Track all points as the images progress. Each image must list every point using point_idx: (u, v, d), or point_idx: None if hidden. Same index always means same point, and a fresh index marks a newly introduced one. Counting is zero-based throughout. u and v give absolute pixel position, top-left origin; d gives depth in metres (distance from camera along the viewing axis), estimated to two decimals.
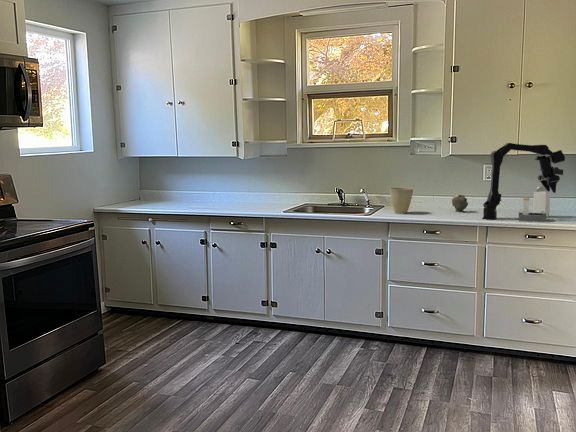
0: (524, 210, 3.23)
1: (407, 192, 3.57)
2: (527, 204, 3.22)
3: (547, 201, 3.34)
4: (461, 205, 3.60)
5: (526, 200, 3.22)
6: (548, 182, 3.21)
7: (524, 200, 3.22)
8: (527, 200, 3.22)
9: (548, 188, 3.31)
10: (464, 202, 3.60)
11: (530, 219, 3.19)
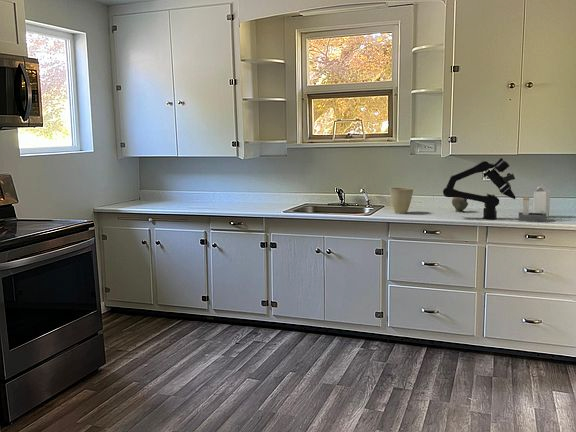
0: (524, 210, 3.23)
1: (407, 192, 3.57)
2: (527, 204, 3.22)
3: (547, 201, 3.34)
4: (461, 205, 3.60)
5: (526, 200, 3.22)
6: (502, 193, 3.22)
7: (524, 200, 3.22)
8: (527, 200, 3.22)
9: None
10: (464, 202, 3.60)
11: (530, 219, 3.19)
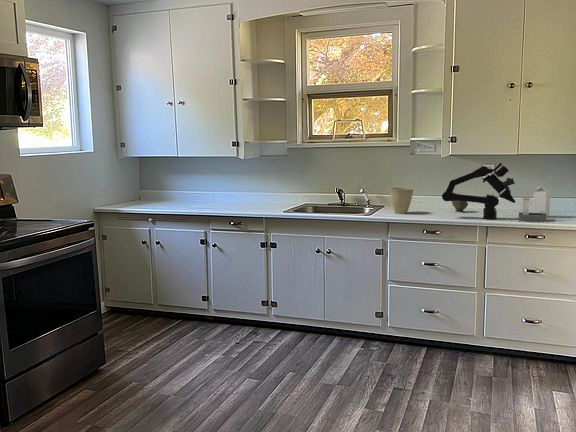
0: (524, 210, 3.23)
1: (407, 192, 3.57)
2: (527, 204, 3.22)
3: (547, 201, 3.34)
4: (461, 205, 3.60)
5: (526, 200, 3.22)
6: (502, 197, 3.27)
7: (524, 200, 3.22)
8: (527, 200, 3.22)
9: None
10: (464, 202, 3.60)
11: (530, 219, 3.19)
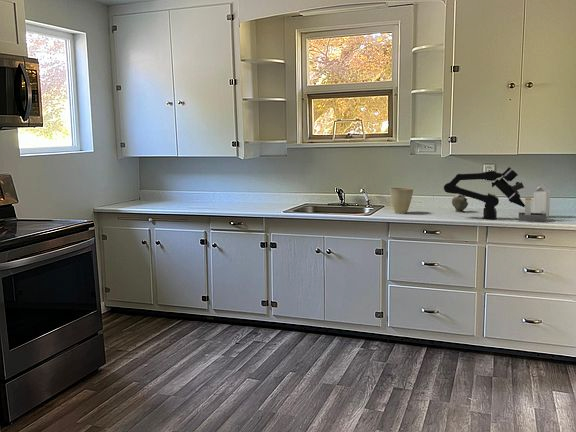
0: (526, 210, 3.23)
1: (407, 192, 3.57)
2: (529, 204, 3.22)
3: (547, 201, 3.34)
4: (461, 205, 3.60)
5: (528, 200, 3.22)
6: None
7: (526, 200, 3.22)
8: (529, 200, 3.21)
9: None
10: (464, 202, 3.60)
11: (530, 219, 3.19)
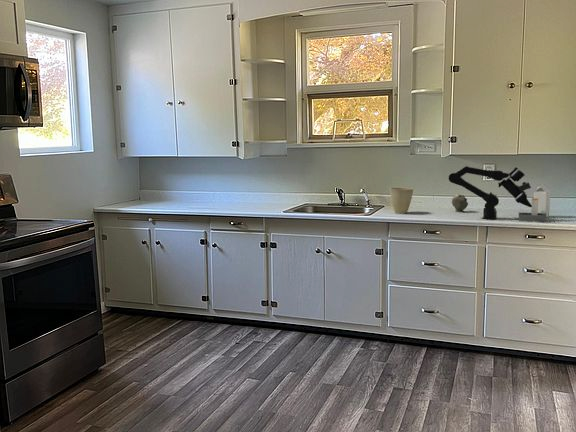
0: (533, 210, 3.21)
1: (407, 192, 3.57)
2: (536, 204, 3.20)
3: (547, 201, 3.34)
4: (461, 205, 3.60)
5: (535, 200, 3.20)
6: (518, 201, 3.24)
7: (533, 200, 3.21)
8: (536, 200, 3.20)
9: None
10: (464, 202, 3.60)
11: (530, 219, 3.19)
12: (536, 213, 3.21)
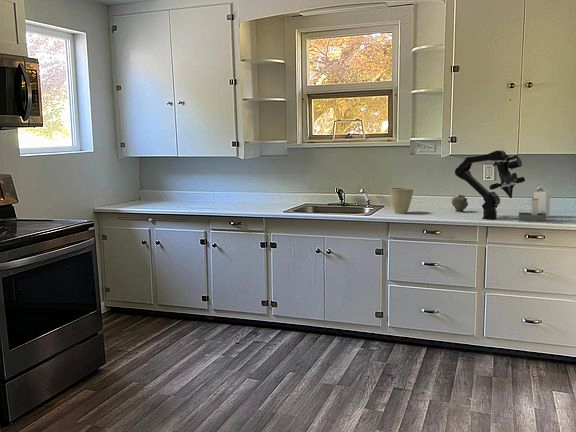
0: (533, 210, 3.21)
1: (407, 192, 3.57)
2: (536, 204, 3.20)
3: (547, 201, 3.34)
4: (461, 205, 3.60)
5: (535, 200, 3.20)
6: (503, 187, 3.26)
7: (533, 200, 3.21)
8: (536, 200, 3.20)
9: None
10: (464, 202, 3.60)
11: (530, 219, 3.19)
12: (536, 213, 3.21)
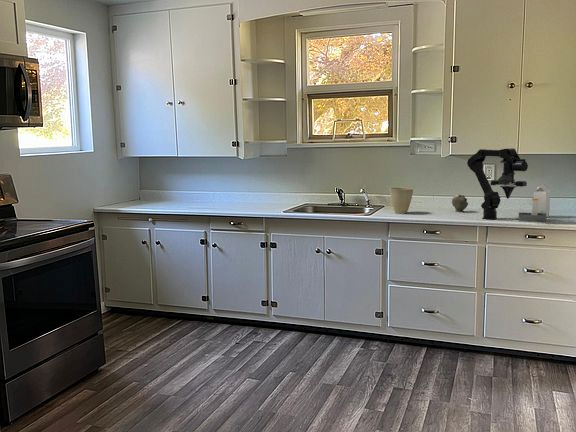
0: (533, 210, 3.21)
1: (407, 192, 3.57)
2: (536, 204, 3.20)
3: (547, 201, 3.34)
4: (461, 205, 3.60)
5: (535, 200, 3.20)
6: None
7: (533, 200, 3.21)
8: (536, 200, 3.20)
9: None
10: (464, 202, 3.60)
11: (530, 219, 3.19)
12: (536, 213, 3.21)
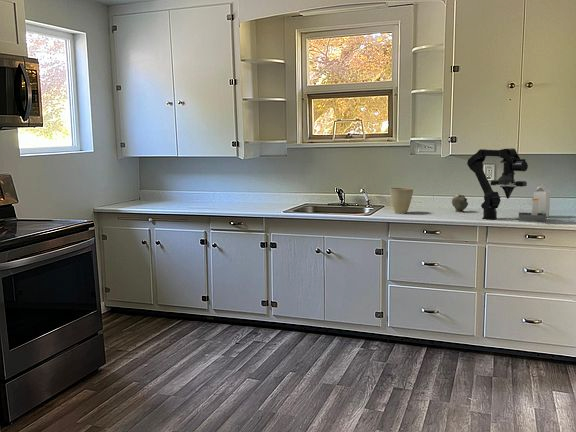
0: (533, 210, 3.21)
1: (407, 192, 3.57)
2: (536, 204, 3.20)
3: (547, 201, 3.34)
4: (461, 205, 3.60)
5: (535, 200, 3.20)
6: None
7: (533, 200, 3.21)
8: (536, 200, 3.20)
9: None
10: (464, 202, 3.60)
11: (530, 219, 3.19)
12: (536, 213, 3.21)
